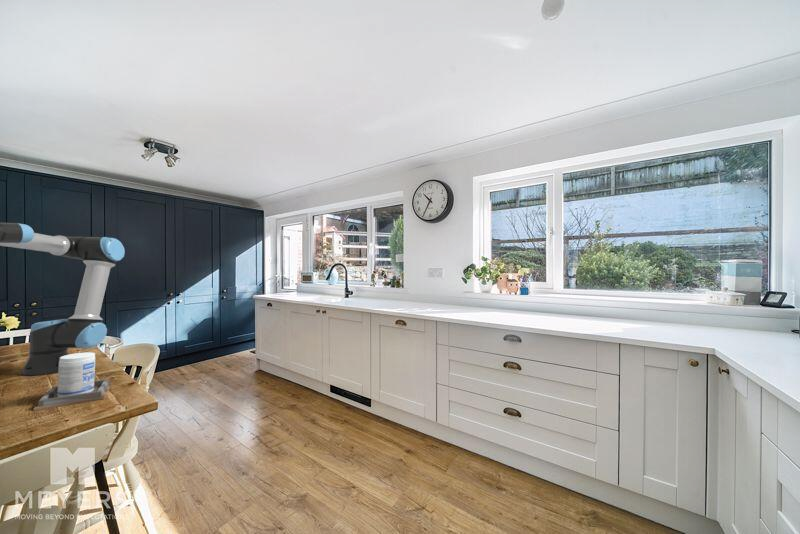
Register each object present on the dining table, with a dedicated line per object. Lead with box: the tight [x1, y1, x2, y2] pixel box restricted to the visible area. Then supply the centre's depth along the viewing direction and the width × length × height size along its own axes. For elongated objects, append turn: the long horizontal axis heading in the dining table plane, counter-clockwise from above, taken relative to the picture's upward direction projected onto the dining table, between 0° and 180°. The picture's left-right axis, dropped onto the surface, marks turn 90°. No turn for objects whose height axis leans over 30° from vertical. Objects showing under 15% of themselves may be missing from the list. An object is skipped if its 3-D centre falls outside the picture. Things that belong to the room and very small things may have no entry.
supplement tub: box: [57, 351, 96, 397], centre depth 114 cm, size 10×10×15 cm
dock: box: [32, 378, 112, 412], centre depth 114 cm, size 17×17×3 cm
